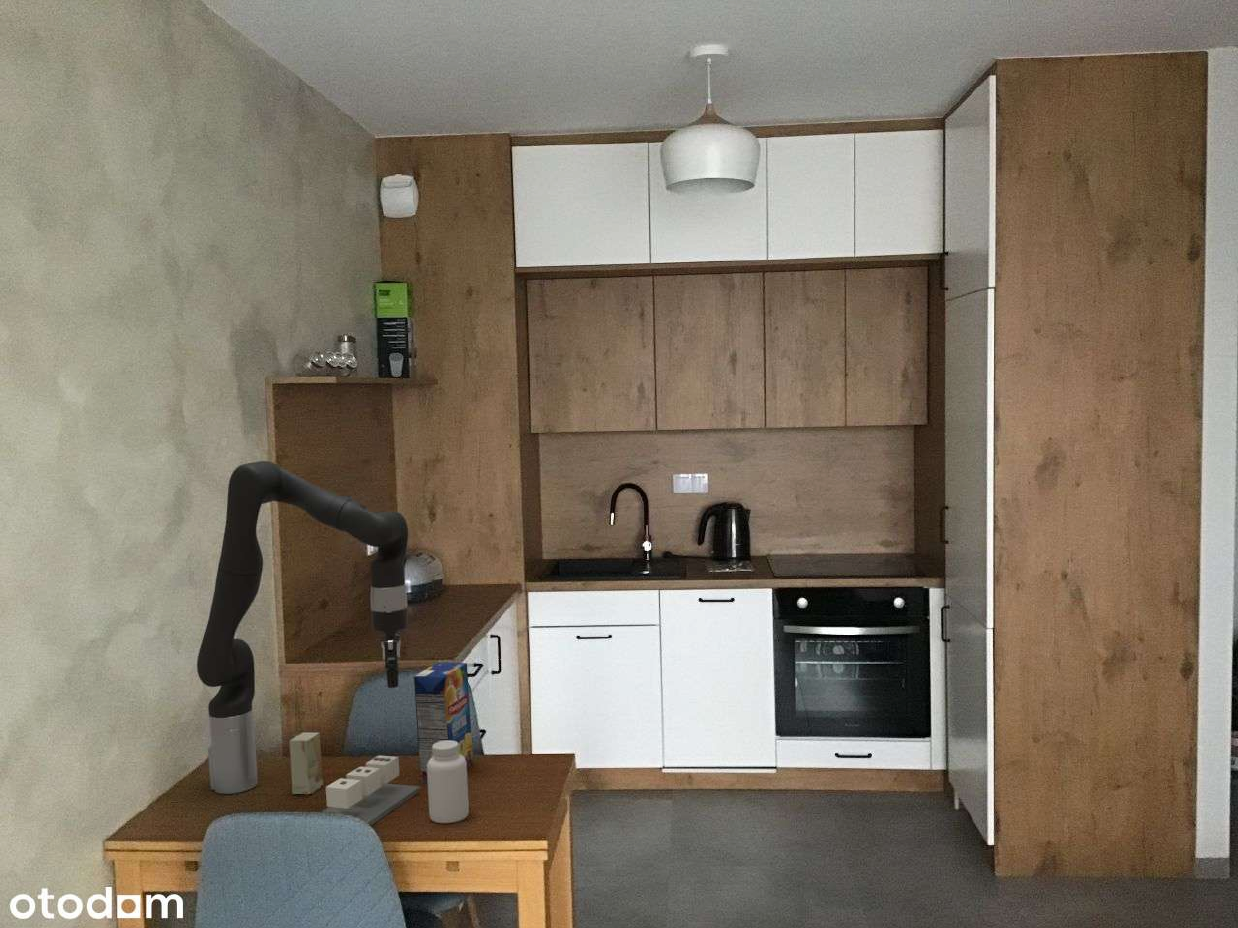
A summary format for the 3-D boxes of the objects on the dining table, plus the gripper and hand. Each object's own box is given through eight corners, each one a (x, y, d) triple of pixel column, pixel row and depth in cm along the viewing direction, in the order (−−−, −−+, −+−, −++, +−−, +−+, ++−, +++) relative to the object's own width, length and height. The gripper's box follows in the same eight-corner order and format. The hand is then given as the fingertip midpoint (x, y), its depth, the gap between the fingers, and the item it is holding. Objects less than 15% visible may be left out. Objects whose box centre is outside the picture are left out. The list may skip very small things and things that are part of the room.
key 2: (347, 793, 215) (346, 773, 215) (361, 784, 220) (360, 764, 220) (367, 795, 213) (366, 775, 213) (381, 786, 218) (380, 766, 218)
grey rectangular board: (307, 825, 209) (306, 821, 209) (369, 786, 229) (368, 781, 229) (361, 831, 204) (361, 826, 204) (420, 790, 225) (419, 786, 225)
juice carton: (444, 763, 242) (437, 662, 240) (473, 765, 240) (467, 663, 238) (420, 782, 230) (413, 676, 229) (451, 783, 228) (444, 676, 227)
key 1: (326, 806, 209) (325, 785, 208) (341, 797, 213) (340, 776, 213) (347, 808, 207) (346, 787, 207) (362, 799, 212) (360, 778, 211)
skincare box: (310, 795, 225) (306, 740, 225) (291, 795, 226) (288, 740, 226) (324, 784, 232) (320, 731, 231) (306, 784, 233) (302, 731, 232)
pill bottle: (451, 827, 204) (447, 752, 204) (421, 820, 209) (416, 747, 208) (477, 812, 211) (473, 740, 210) (447, 806, 215) (443, 735, 214)
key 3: (366, 781, 222) (365, 761, 221) (379, 773, 226) (378, 753, 226) (386, 783, 220) (385, 763, 220) (399, 774, 225) (398, 755, 224)
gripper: (372, 601, 224) (376, 674, 225) (369, 614, 210) (374, 692, 211) (407, 598, 226) (411, 671, 227) (407, 611, 212) (411, 689, 213)
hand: (393, 681), depth 219 cm, fingers open, 8 cm apart
